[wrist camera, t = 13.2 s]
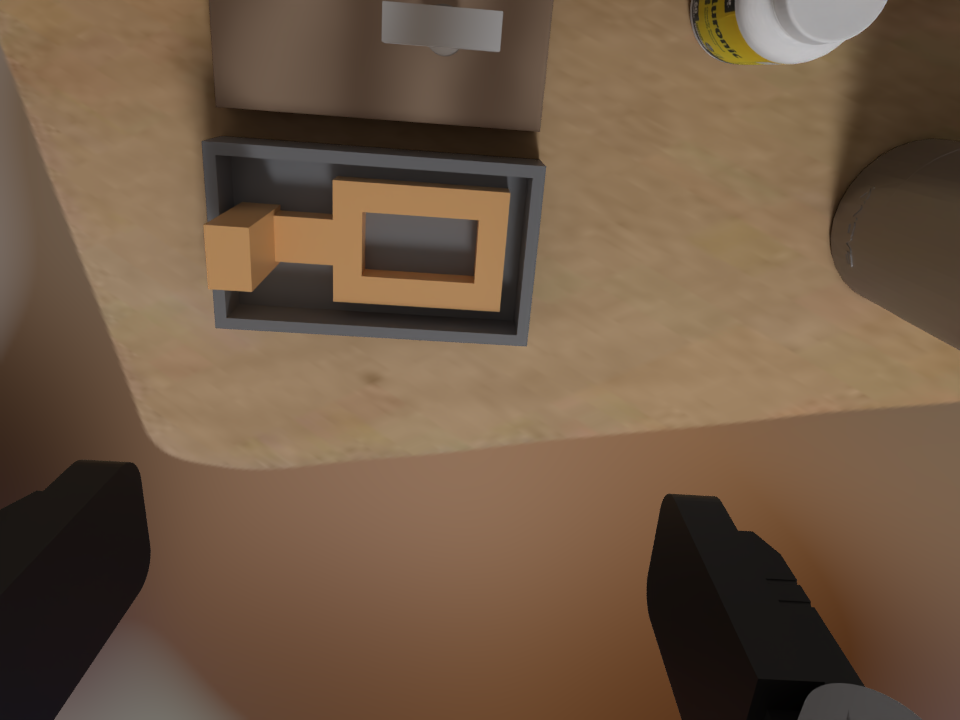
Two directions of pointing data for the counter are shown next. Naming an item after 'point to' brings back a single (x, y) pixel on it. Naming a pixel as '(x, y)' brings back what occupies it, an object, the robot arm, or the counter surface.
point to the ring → (362, 243)
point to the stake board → (385, 59)
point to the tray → (376, 238)
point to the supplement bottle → (778, 28)
